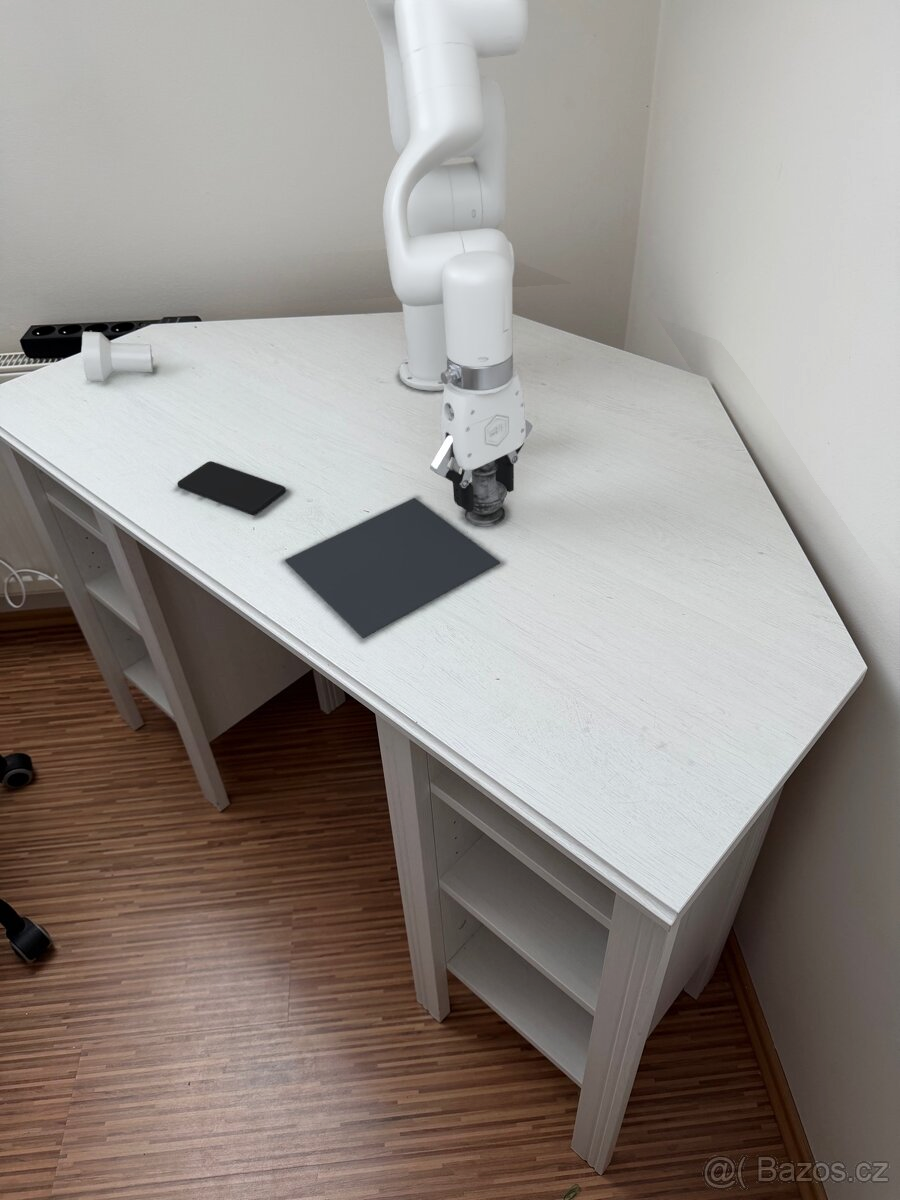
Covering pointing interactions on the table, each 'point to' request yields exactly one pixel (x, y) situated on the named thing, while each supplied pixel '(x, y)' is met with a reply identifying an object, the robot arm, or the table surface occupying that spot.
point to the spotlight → (113, 356)
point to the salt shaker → (487, 497)
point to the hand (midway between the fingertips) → (484, 495)
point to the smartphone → (232, 487)
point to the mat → (390, 565)
